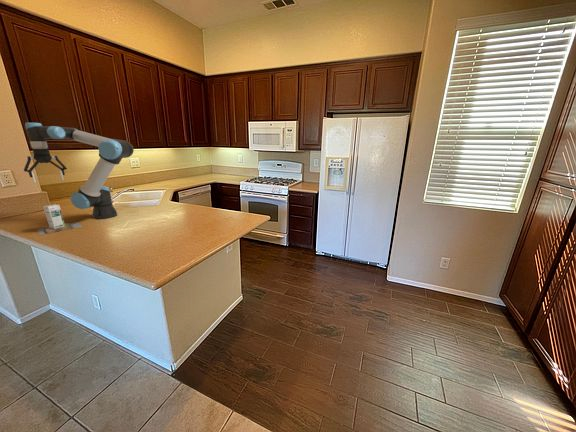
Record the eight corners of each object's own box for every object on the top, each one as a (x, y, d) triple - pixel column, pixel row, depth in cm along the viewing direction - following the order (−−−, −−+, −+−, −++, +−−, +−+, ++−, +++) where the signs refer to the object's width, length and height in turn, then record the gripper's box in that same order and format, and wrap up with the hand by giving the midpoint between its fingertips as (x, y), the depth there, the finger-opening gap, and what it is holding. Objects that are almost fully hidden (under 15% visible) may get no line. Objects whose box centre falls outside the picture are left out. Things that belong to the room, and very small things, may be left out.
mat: (77, 222, 166) (77, 222, 166) (82, 227, 157) (82, 226, 157) (37, 230, 151) (37, 229, 151) (40, 235, 142) (40, 234, 142)
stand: (69, 224, 160) (68, 222, 160) (73, 228, 153) (72, 226, 153) (44, 229, 151) (43, 227, 151) (47, 233, 144) (46, 231, 144)
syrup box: (54, 229, 148) (48, 206, 144) (49, 227, 150) (42, 205, 146) (65, 226, 153) (59, 204, 149) (60, 225, 155) (54, 203, 151)
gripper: (64, 148, 164) (72, 178, 171) (10, 148, 146) (21, 182, 152) (67, 148, 160) (75, 179, 166) (11, 148, 141) (23, 183, 147)
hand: (49, 181), depth 159 cm, fingers open, 13 cm apart
